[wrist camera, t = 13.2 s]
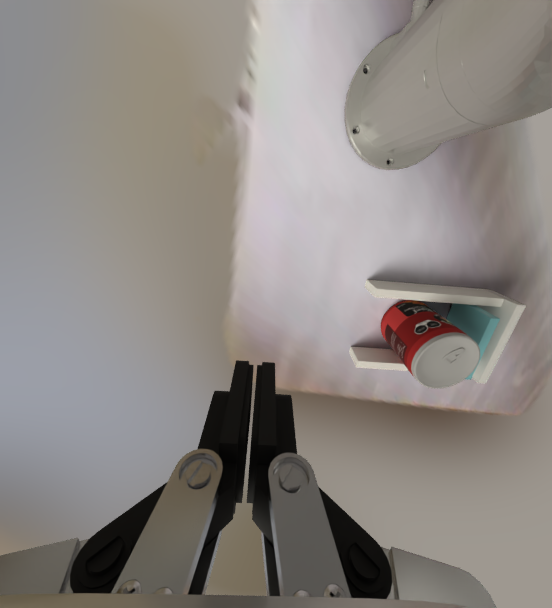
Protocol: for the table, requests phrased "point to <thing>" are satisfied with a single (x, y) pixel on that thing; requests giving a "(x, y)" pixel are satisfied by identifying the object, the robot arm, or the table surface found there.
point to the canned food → (429, 344)
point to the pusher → (474, 324)
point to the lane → (482, 298)
